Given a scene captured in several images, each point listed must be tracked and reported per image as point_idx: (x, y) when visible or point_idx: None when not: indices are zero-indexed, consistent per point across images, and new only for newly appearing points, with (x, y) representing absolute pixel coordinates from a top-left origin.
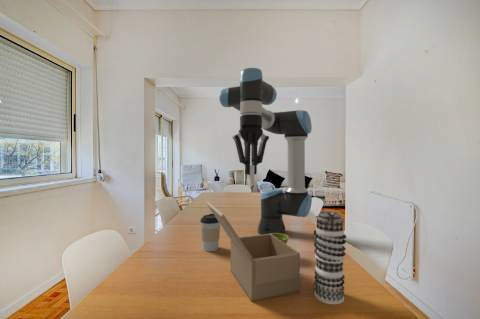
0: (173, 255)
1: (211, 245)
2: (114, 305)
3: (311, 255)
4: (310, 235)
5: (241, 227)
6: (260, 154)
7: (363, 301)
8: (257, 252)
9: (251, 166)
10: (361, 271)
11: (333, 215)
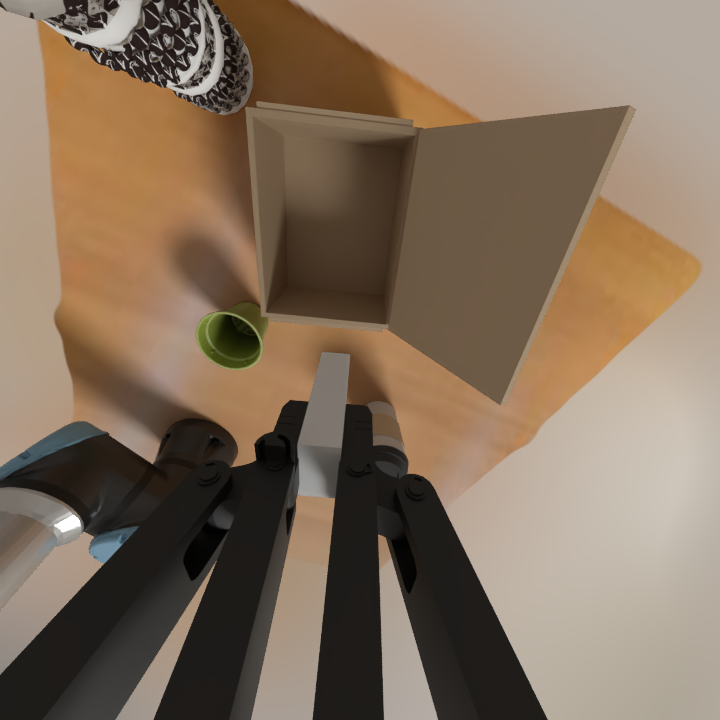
0: (461, 411)
1: (383, 409)
2: (641, 263)
3: (157, 291)
4: (106, 395)
5: None
6: (162, 562)
7: None
8: (315, 300)
9: (330, 438)
10: (55, 146)
11: None
